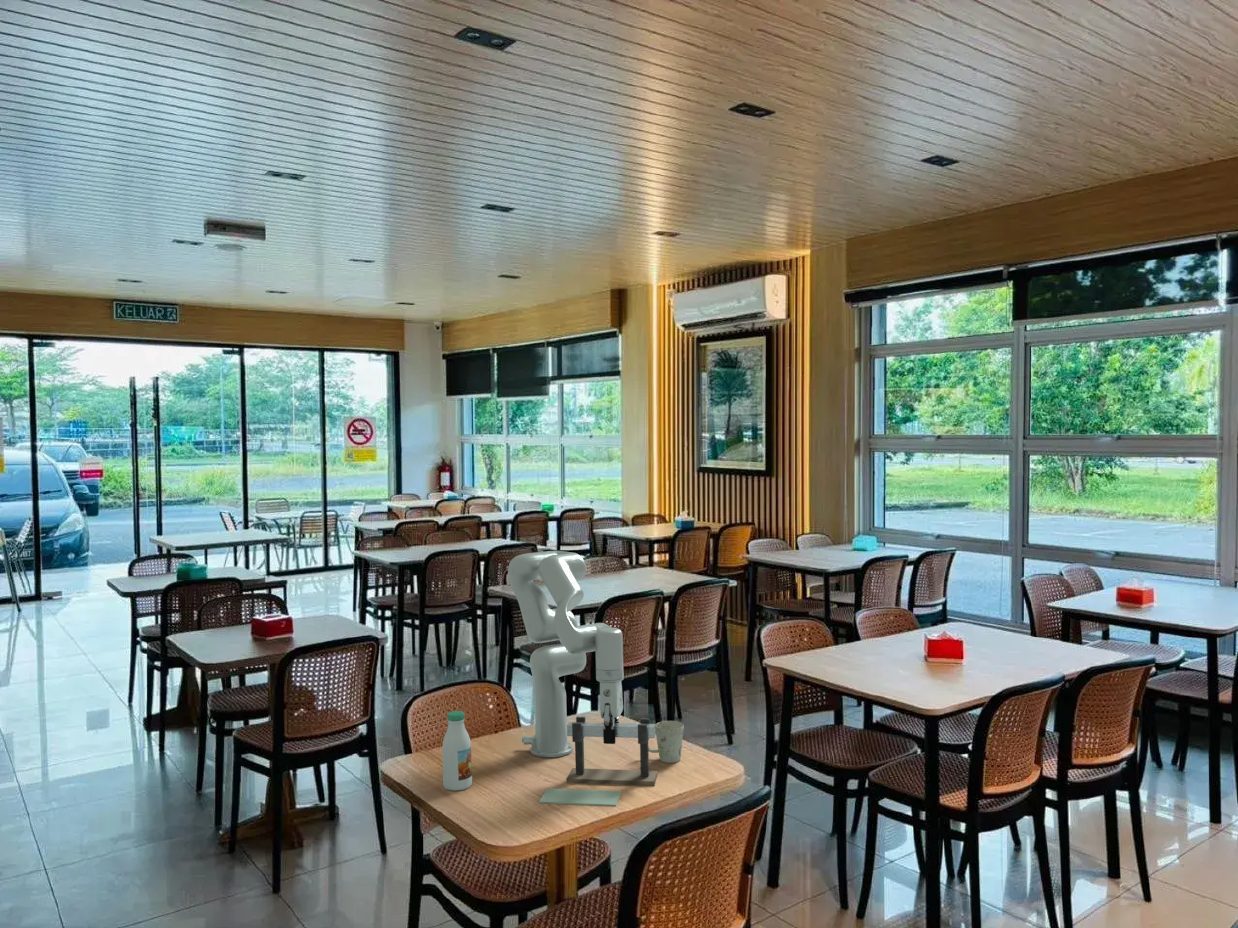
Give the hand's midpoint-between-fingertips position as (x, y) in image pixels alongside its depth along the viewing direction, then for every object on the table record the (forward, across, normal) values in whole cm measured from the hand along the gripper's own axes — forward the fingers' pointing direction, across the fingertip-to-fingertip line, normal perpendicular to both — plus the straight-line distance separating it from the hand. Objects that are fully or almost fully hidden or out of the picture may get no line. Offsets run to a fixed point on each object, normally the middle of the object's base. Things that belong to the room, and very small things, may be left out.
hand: (611, 738), depth 251 cm
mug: (+11, +17, -12) cm, 24 cm away
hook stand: (+11, 0, 0) cm, 11 cm away
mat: (+11, -14, +6) cm, 19 cm away
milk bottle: (+11, -9, +41) cm, 43 cm away
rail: (-1, 0, 0) cm, 1 cm away
